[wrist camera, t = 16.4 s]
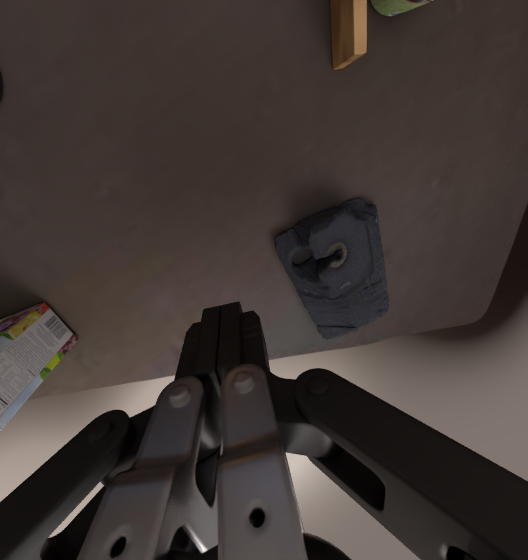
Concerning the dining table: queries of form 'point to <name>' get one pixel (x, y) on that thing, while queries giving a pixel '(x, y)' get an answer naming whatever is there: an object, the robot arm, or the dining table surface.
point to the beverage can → (396, 6)
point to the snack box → (29, 354)
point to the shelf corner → (348, 31)
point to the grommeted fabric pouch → (338, 267)
